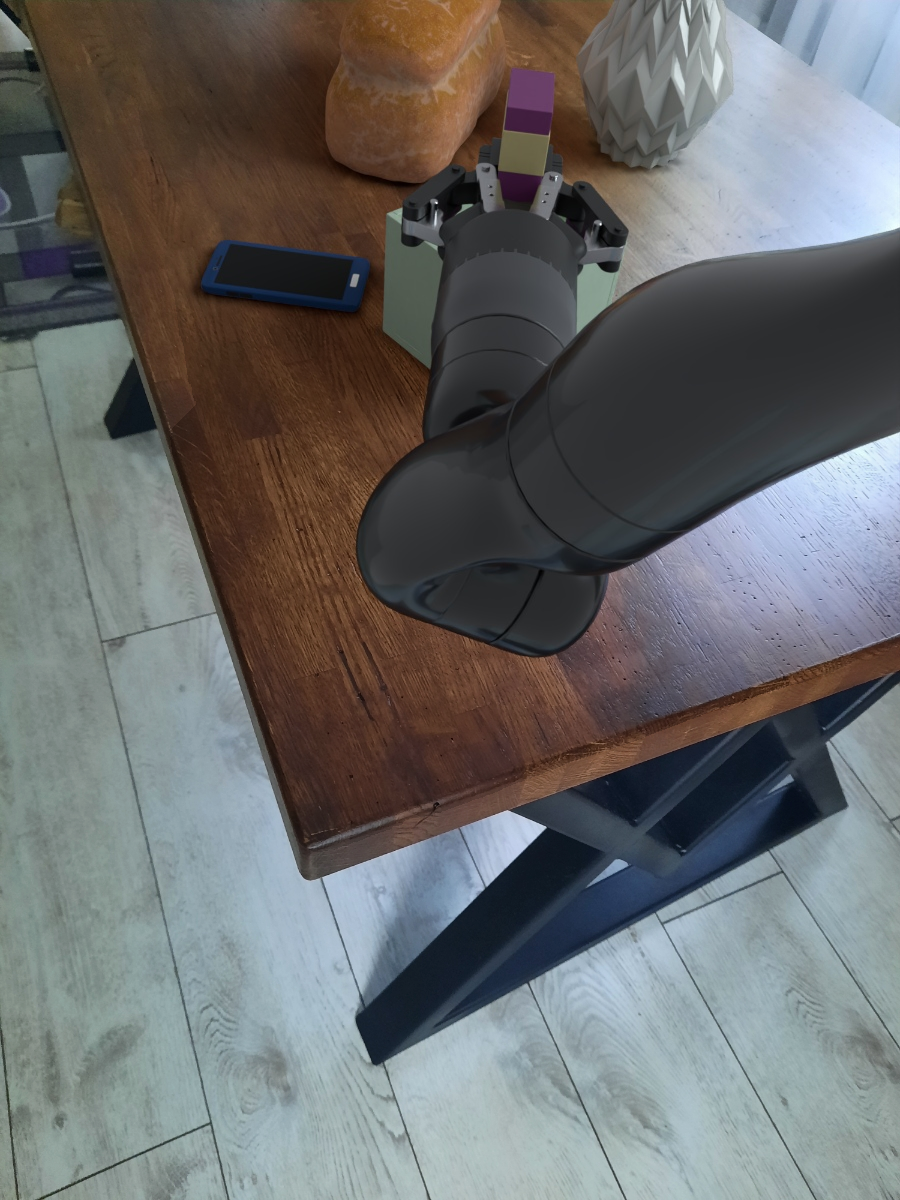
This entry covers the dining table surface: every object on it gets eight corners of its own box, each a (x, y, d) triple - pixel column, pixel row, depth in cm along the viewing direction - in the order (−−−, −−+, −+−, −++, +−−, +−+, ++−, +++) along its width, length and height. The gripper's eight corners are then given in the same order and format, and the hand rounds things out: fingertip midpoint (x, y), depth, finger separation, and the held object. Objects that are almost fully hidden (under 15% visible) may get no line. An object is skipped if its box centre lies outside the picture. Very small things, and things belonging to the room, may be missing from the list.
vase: (532, 137, 101) (562, -59, 87) (633, 101, 109) (677, -86, 94) (640, 207, 95) (692, 6, 80) (740, 163, 102) (805, -28, 87)
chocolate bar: (487, 249, 64) (510, 66, 55) (525, 254, 64) (555, 72, 55) (482, 292, 61) (505, 107, 52) (522, 297, 61) (553, 113, 52)
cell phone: (358, 314, 80) (359, 306, 79) (198, 292, 80) (197, 285, 79) (371, 265, 85) (371, 258, 84) (219, 245, 84) (219, 237, 84)
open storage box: (494, 278, 85) (510, 164, 77) (598, 354, 80) (628, 240, 71) (382, 330, 79) (385, 213, 71) (486, 415, 74) (504, 300, 65)
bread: (312, 166, 94) (306, -1, 82) (402, 63, 110) (408, -90, 97) (437, 199, 92) (450, 33, 80) (511, 90, 108) (531, -63, 96)
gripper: (654, 273, 46) (642, 109, 57) (375, 237, 46) (415, 80, 56) (619, 390, 52) (614, 223, 63) (373, 359, 52) (409, 196, 62)
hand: (520, 156), depth 59 cm, fingers closed on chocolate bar, 2 cm apart
